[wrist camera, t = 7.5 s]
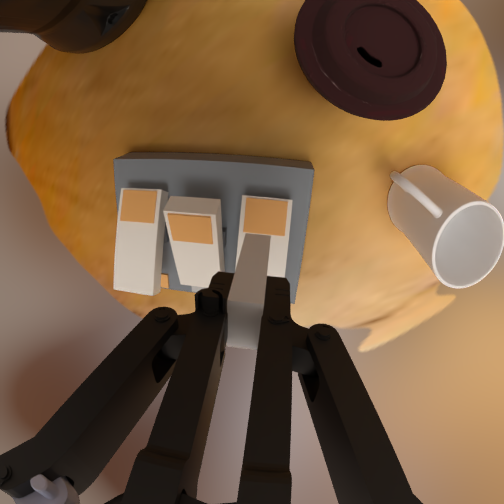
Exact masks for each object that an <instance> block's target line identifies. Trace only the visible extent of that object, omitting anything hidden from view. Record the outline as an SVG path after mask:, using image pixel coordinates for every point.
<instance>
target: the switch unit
mask: <svg viewBox="0 0 504 504" xmlns="http://www.w3.org/2000/svg"><path fill="white" fill-rule="evenodd" d="M113 160H114V177H115V190H116V201H117V212H118V211H119V202H120V193H121V188H137V189H160V190H164V191H166V192H169V193H168V200H169V198H170V196H181V197H197V198H211V199H221V217H222V234H223V251H224V266H225V272H229V273H235V268H236V257H237V246H238V235H239V224H240V213H241V203H242V195H246V196H257V197H268V198H278V199H288V200H293V201H292V212H291V222H290V232H289V242H288V252H287V261H286V270H285V278H287V280H288V281H289V283H290V303H292V304H294V303H295V298H296V292H297V286H298V280H299V274H300V268H301V262H302V255H303V249H304V242H305V236H306V229H307V222H308V215H309V208H310V200H311V193H312V185H313V177H314V168H313V166H312V163H311V162H308V161H299V160H290V159H280V158H269V157H258V156H244V155H229V154H210V153H181V152H130V153H128V154H125V155H123V156H120V157H118V158H115V159H113ZM161 288H165V289H172V290H179V291H187V292H194V293H197V291H199V290H201V289H204V288H205V287H197V286H189V285H181V284H180V280H179V276H178V272H177V268H176V264H175V260H174V256H173V252H172V248H171V244H170V239H169V235H168V231H167V226H166V222H165V231H164V243H163V256H162V270H161Z"/></svg>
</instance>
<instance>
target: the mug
mask: <svg viewBox="0 0 504 504" xmlns="http://www.w3.org/2000/svg"><path fill="white" fill-rule="evenodd" d="M390 178H391V179H392V180H393V181H394V182H393V184H392V186H391V188H390V191H389V194H388V201H387V206H388V212H389V216H390V218H391V220H392V222H393V224H394V225H395V226H396V227H397V228H398V229H399V230H400V231H402V232H403V233H404V234H405V235H406V237H407V238H408V239H409V240H410V242H411V243H412V244H413V246H414V247H415V248H416V249H417V251H418V252H419V253H420V255H421V256H422V257H423V259H424V260H425V261H426V263H427V264H428V266H429V267H430V268H431V270H432V271H433V272H434V274H435V275H436V277H437V278H438V279H439V280H440V281H441V282H442V283H443V284H445V285H447V286H448V287H452V288H465V287H468V286H471V285H473V284H476V283H477V282H479V281H480V280H482V279H483V278H484V277H485V276H487V274H488V273H489V272H490V271H491V270H492V269H493V268H494V266H495V265H496V263H497V261H498V259H499V257H500V255H501V252H502V250H503V246H504V222H503V219H502V216H501V214H500V213H499V211H498V210H497V209H496V208H495V207H494V206H493V205H491V204H490V203H489V202H487V201H486V200H484V199H482V198H481V197H479V196H478V195H476V194H475V193H473V192H471V191H470V190H468V189H466V188H465V187H463V186H461V185H460V184H458V183H456V182H455V181H453V180H451V179H449V178H448V177H446V176H444V175H443V174H442V173H441V172H440V171H439V170H437V169H436V168H434V167H432V166H428V165H416V166H412V167H410V168H408V169H406V170H404V171H403V172H402V173H401V174H400V173H398V172H397V171H392V172H391V174H390Z"/></svg>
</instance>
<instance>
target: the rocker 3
mask: <svg viewBox="0 0 504 504" xmlns="http://www.w3.org/2000/svg"><path fill="white" fill-rule="evenodd" d="M292 201H293V200H288V199H278V198H268V197H257V196H246V195H242V203H241V213H240V224H239V235H238V246H237V257H236V266H237V263H238V259H239V255H240V252H241V248H242V244H243V241H244V237H245V234H246V233H250V234H260V235H270V236H271V240H270V250H269V260H268V270H267V276H274V277H284V278H285V270H286V261H287V252H288V242H289V232H290V222H291V212H292ZM235 270H236V268H235Z"/></svg>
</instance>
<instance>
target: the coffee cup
mask: <svg viewBox="0 0 504 504" xmlns="http://www.w3.org/2000/svg"><path fill="white" fill-rule="evenodd" d="M294 45H295V51H296V55H297V59H298V62H299V64H300V67H301V69H302V71H303V73H304V74H305V76H306V77H307V79H308V81H309V82H310V84H311V85H312V86H313V87H314V88H315V90H316V91H317V92H319V93H320V94H321V95H322V96H323V97H324V98H325V99H326V100H328V101H329V102H330V103H332V104H333V105H335V106H336V107H338V108H340V109H342V110H344V111H346V112H348V113H350V114H353V115H356V116H359V117H363V118H368V119H374V120H383V121H384V120H398V119H403V118H407V117H410V116H412V115H414V114H416V113H418V112H420V111H422V110H423V109H425V108H426V107H427V106H428V105H429V104H430V103H431V102H432V101H433V100H434V99H435V97H436V96H437V94H438V93H439V91H440V89H441V87H442V84H443V82H444V79H445V74H446V66H447V61H446V50H445V46H444V42H443V38H442V35H441V33H440V31H439V29H438V27H437V25H436V23H435V22H434V20H433V18H432V17H431V15H430V14H429V13H428V12H427V11H426V9H425V8H424V7H423V6H422V5H421V4H420V3H419V2H418V1H417V0H305V2H304V3H303V5H302V7H301V9H300V11H299V13H298V16H297V19H296V24H295V32H294Z"/></svg>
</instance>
